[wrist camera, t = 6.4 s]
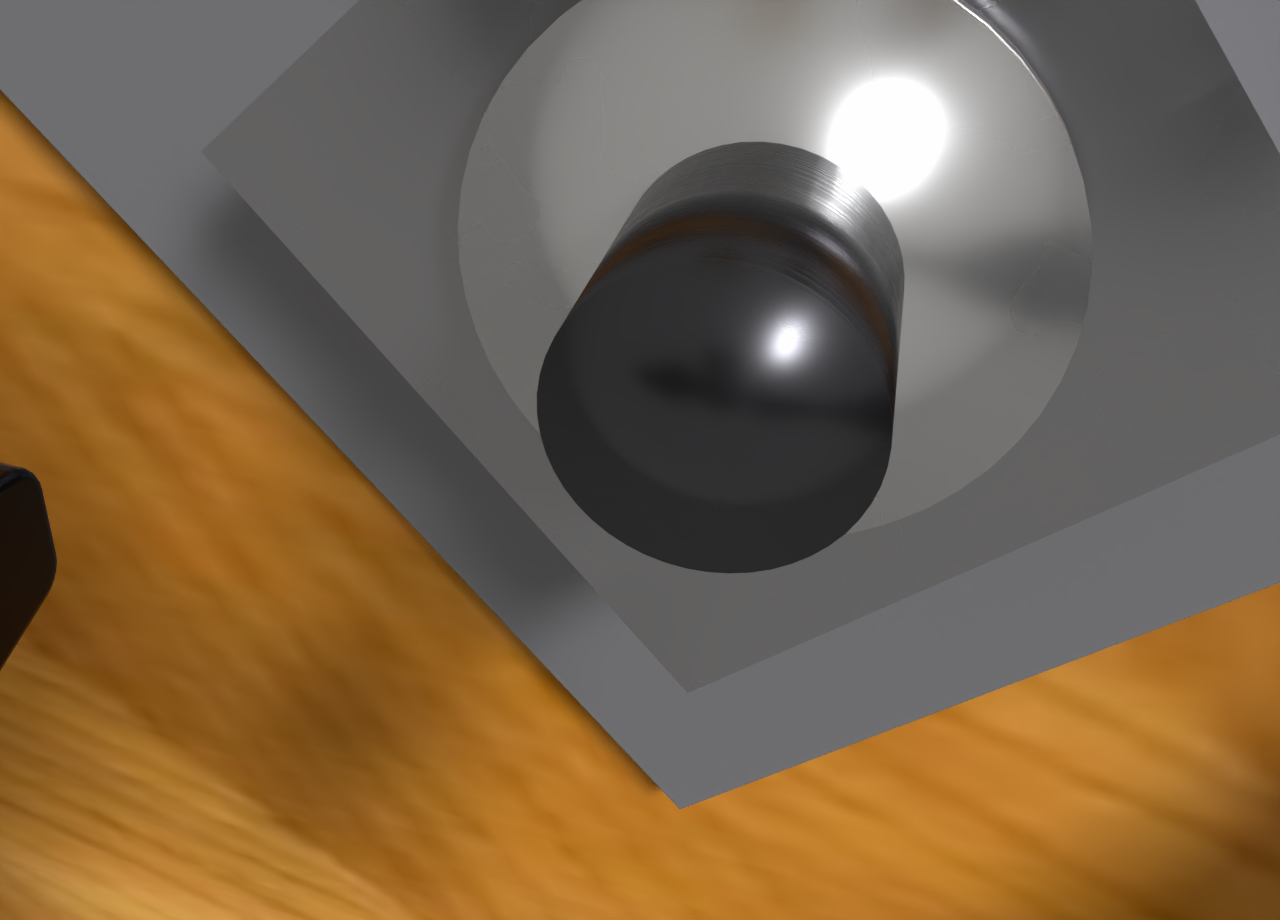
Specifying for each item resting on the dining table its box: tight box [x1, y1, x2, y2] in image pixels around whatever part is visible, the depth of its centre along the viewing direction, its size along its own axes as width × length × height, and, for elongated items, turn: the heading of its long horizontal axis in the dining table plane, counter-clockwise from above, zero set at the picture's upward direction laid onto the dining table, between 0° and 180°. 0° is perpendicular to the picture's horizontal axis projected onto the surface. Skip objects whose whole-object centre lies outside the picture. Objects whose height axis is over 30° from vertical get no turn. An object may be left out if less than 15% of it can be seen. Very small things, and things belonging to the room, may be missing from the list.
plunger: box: [458, 0, 1092, 574], centre depth 14 cm, size 7×7×8 cm
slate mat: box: [0, 0, 1280, 809], centre depth 18 cm, size 22×22×1 cm
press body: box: [201, 0, 1280, 693], centre depth 16 cm, size 10×10×5 cm
